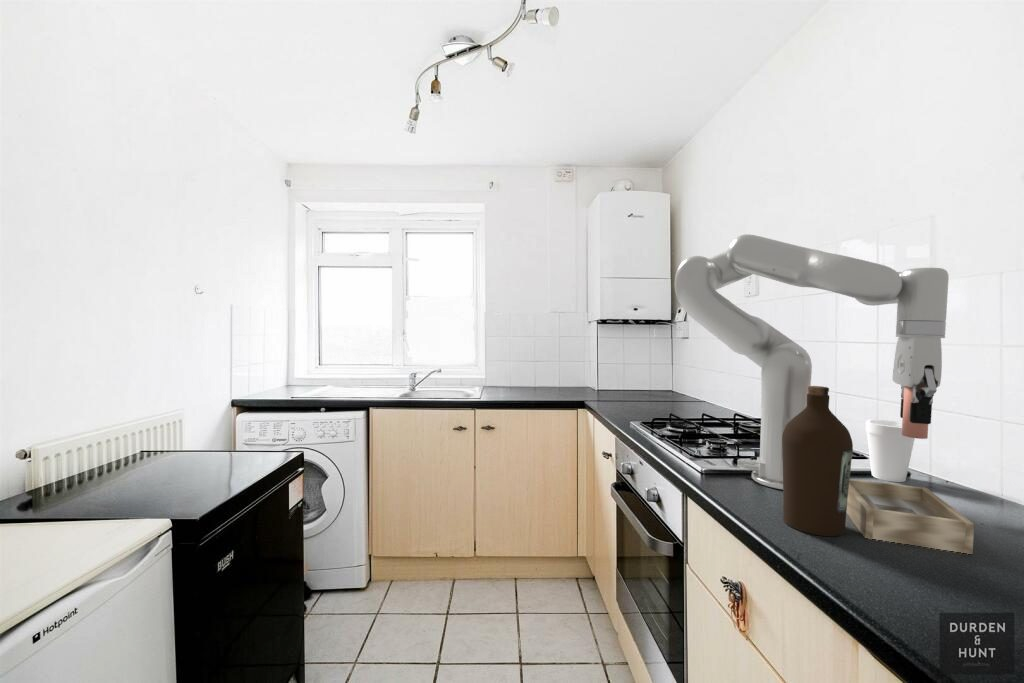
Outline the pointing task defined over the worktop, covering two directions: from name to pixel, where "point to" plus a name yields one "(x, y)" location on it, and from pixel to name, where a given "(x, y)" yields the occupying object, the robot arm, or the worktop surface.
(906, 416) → the peg
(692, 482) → the worktop surface
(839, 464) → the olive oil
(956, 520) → the box
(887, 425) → the foam cup
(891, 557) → the worktop surface
